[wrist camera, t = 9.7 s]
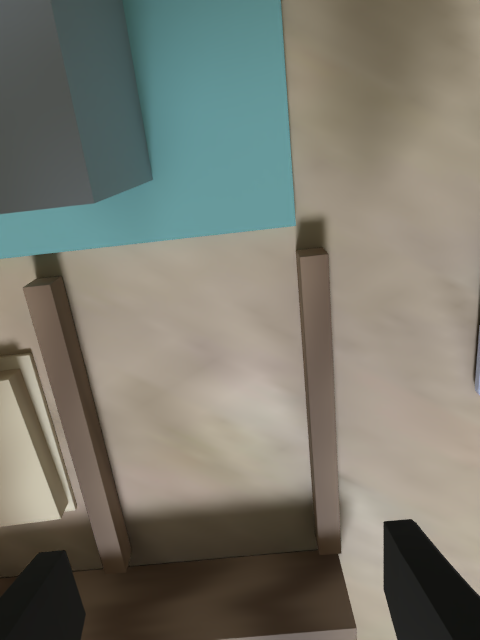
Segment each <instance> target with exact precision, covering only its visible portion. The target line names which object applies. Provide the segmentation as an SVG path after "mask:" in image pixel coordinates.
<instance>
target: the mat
mask: <svg viewBox="0 0 480 640" xmlns="http://www.w3.org/2000/svg"><path fill="white" fill-rule="evenodd" d="M122 1H123V7H124V13H125V19H126V25H127V31H128V37H129V43H130V49H131V54H132V60H133V66H134V72H135V78H136V84H137V90H138V96H139V102H140V107H141V113H142V119H143V125H144V131H145V137H146V143H147V149H148V155H149V160H150V166H151V172H152V178H153V180H152V181H149V182H147V183H144V184H142V185H139V186H137V187H134V188H132V189H129V190H127V191H124V192H122V193H119V194H117V195H114V196H112V197H109V198H107V199H104V200H102V201H99V202H97V203H94V204H85V205H76V206H68V207H59V208H50V209H42V210H33V211H24V212H15V213H7V214H0V259H3V258H12V257H21V256H30V255H39V254H48V253H57V252H66V251H74V250H83V249H92V248H101V247H110V246H119V245H128V244H137V243H146V242H155V241H164V240H173V239H182V238H191V237H200V236H209V235H218V234H227V233H236V232H245V231H254V230H263V229H272V228H280V227H289V226H296V222H295V207H294V192H293V177H292V162H291V147H290V133H289V118H288V103H287V88H286V73H285V58H284V43H283V28H282V13H281V0H122Z"/></svg>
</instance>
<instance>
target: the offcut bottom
mask: <svg viewBox="0 0 480 640" xmlns="http://www.w3.org/2000/svg"><path fill="white" fill-rule="evenodd" d="M18 368H20V370H21V373H22V375H23V378H24V381H25V384H26V386H27V389H28V392H29V395H30V397H31V400H32V403H33V406H34V409H35V411H36V414H37V417H38V420H39V422H40V425H41V428H42V431H43V433H44V436H45V439H46V442H47V444H48V447H49V450H50V453H51V455H52V458H53V461H54V464H55V467H56V469H57V472H58V475H59V478H60V480H61V483H62V486H63V489H64V491H65V494H66V497H67V500H68V502H69V503H68V505H67V507H66V509H65V511H73V510H76V508H77V504H76V501H75V497H74V494H73V491H72V487H71V484H70V480H69V477H68V474H67V470H66V467H65V464H64V460H63V457H62V453H61V450H60V447H59V443H58V440H57V436H56V433H55V430H54V426H53V423H52V419H51V416H50V413H49V409H48V406H47V403H46V399H45V396H44V392H43V389H42V386H41V382H40V379H39V375H38V372H37V369H36V365H35V362H34V359H33V355H32V353H25V354H15V355H5V356H0V371H4V370H11V369H18Z"/></svg>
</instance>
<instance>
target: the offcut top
mask: <svg viewBox="0 0 480 640" xmlns="http://www.w3.org/2000/svg"><path fill="white" fill-rule="evenodd" d="M68 503H69V502H68V500H67V497H66V494H65V491H64V489H63V486H62V483H61V480H60V478H59V475H58V472H57V469H56V467H55V464H54V461H53V458H52V455H51V453H50V450H49V447H48V444H47V442H46V439H45V436H44V433H43V431H42V428H41V425H40V422H39V420H38V417H37V414H36V411H35V409H34V406H33V403H32V400H31V397H30V395H29V392H28V389H27V386H26V384H25V381H24V378H23V375H22V373H21V370H20V368H18V369H11V370H4V371H0V527H2V526H10V525H18V524H26V523H33V522H41V521H49V520H56V519H61V518H62V515H63V513H64V511H65V509H66V507H67V505H68Z"/></svg>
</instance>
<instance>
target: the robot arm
mask: <svg viewBox="0 0 480 640" xmlns="http://www.w3.org/2000/svg"><path fill="white" fill-rule="evenodd" d="M475 391H476V392H477V393H478V394H479V395H480V327H479V340H478V352H477V365H476V377H475ZM384 592H385V596H386V599H387V603H388V607H389V611H390V614H391V618H392V622H393V625H394V629H395V632H396V636H397V640H480V596H479V595H478V594H477V593H476V592H475V591H474V590H473V589H472V588H471V587H470V585H469V584H468V583H467V582H466V581H465V580H464V579H463V578H462V577H461V575H460V574H459V573H458V572H457V571H456V570H455V569H454V568H453V566H452V565H451V564H450V563H449V562H448V561H447V560H446V558H445V557H444V556H443V555H442V554H441V553H440V551H439V550H438V549H437V548H436V547H435V545H434V544H433V543H432V542H431V541H430V539H429V538H428V537H427V536H426V535H425V533H424V532H423V531H422V530H421V528H420V527H419V526H418V525H417V523H416V522H414V521H413V520H412V519H407V520H396V521H385V522H384ZM85 616H86V613H85V610H84V607H83V604H82V600H81V597H80V594H79V591H78V588H77V585H76V582H75V579H74V576H73V572H72V569H71V566H70V563H69V560H68V557H67V554H66V551H65V550H63V551H52V552H41V553H38V555H37V556H36V557H35V558H34V559H33V560H32V561H31V562H30V564H29V565H28V566H27V567H26V568H25V569H24V570H23V572H22V573H21V574H20V575H19V576H18V577H17V579H16V580H15V581H14V582H13V583H12V584H11V585H10V587H9V588H8V589H7V590H6V591H5V592H4V594H3V595H2V596H1V597H0V640H81V636H82V631H83V626H84V621H85Z"/></svg>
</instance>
